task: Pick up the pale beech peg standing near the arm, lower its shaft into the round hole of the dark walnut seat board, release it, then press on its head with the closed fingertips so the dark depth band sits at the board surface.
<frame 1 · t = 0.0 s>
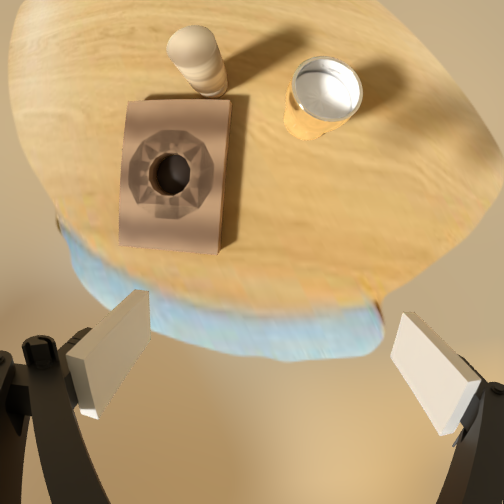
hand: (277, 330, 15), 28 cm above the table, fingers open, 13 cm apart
metal cup: (305, 119, 39), on the table
peg: (212, 85, 38), on the table
board: (175, 174, 41), on the table
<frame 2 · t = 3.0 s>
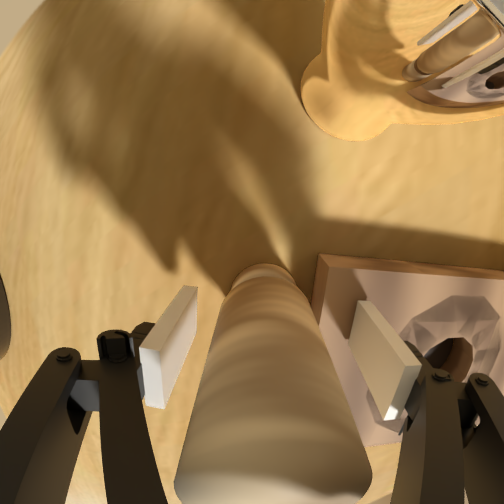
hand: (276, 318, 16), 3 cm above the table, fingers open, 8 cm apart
metal cup: (347, 95, 16), on the table
peg: (264, 295, 19), on the table
board: (425, 352, 20), on the table
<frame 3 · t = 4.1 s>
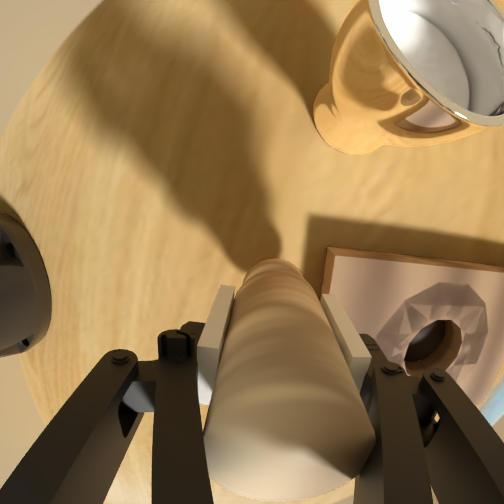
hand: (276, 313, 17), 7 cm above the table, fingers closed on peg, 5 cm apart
metal cup: (351, 116, 21), on the table
peg: (273, 289, 20), point 3 cm above the table, touching gripper
board: (420, 335, 24), on the table
when the fingers open (4 cm above the table, at t = 7.6 s): peg stays where it is, resting on board.
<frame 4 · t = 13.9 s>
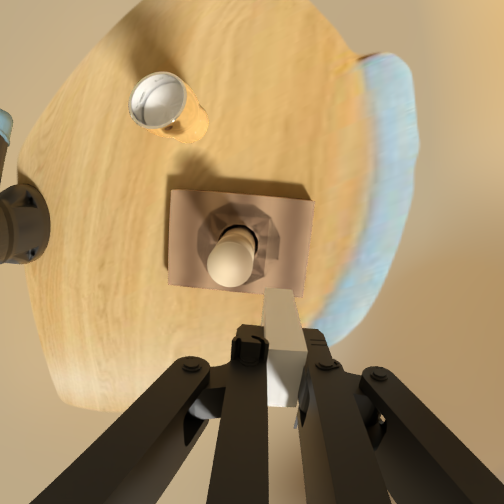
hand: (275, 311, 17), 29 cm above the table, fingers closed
metal cup: (189, 124, 43), on the table
peg: (239, 240, 46), resting on board
board: (239, 240, 46), on the table
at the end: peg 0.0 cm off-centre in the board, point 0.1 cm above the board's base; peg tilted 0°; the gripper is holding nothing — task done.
